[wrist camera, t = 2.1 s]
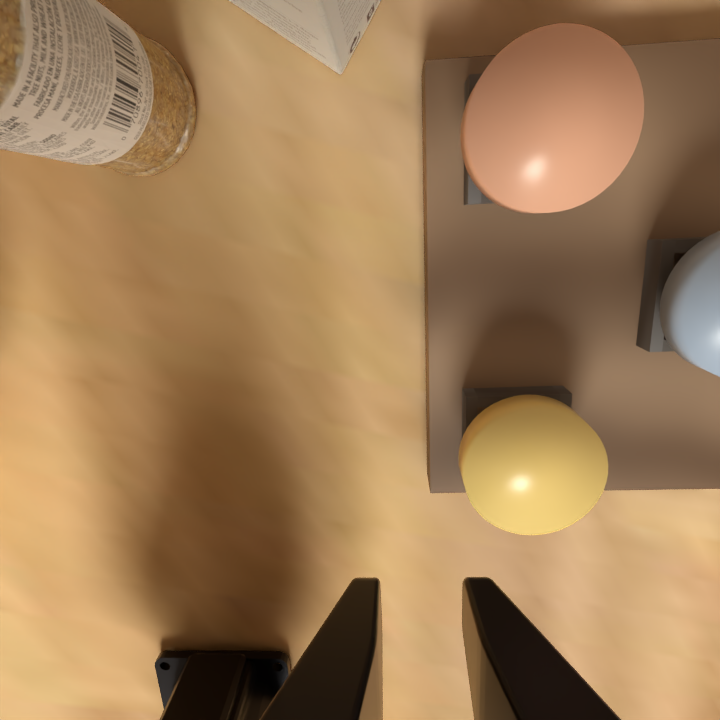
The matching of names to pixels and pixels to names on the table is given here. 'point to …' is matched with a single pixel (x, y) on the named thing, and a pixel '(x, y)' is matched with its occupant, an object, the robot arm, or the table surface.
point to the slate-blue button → (694, 305)
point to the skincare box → (316, 25)
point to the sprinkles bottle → (90, 89)
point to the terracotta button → (552, 119)
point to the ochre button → (532, 465)
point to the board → (576, 282)
